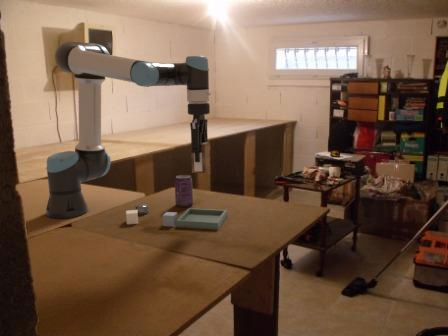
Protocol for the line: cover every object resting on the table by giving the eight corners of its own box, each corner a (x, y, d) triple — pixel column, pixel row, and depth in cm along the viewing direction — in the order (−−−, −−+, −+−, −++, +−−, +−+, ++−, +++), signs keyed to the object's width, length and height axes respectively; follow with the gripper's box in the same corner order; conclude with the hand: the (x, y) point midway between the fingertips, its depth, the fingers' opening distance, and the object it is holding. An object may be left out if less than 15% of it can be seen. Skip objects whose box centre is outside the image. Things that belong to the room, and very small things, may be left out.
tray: (176, 227, 151) (176, 220, 150) (189, 214, 165) (188, 208, 165) (218, 229, 148) (218, 223, 147) (227, 216, 162) (227, 210, 161)
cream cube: (126, 224, 155) (126, 213, 154) (126, 221, 159) (126, 210, 158) (138, 223, 156) (137, 212, 155) (138, 220, 159) (137, 209, 159)
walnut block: (192, 172, 151) (190, 144, 149) (196, 169, 156) (195, 142, 154) (205, 173, 150) (205, 144, 148) (209, 170, 154) (208, 142, 152)
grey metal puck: (133, 214, 166) (132, 207, 165) (138, 210, 171) (138, 203, 170) (145, 215, 165) (145, 207, 164) (150, 211, 170) (150, 204, 169)
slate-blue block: (163, 226, 152) (162, 215, 152) (167, 222, 156) (166, 211, 155) (174, 226, 152) (173, 215, 151) (177, 223, 155) (177, 212, 155)
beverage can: (184, 201, 182) (183, 173, 180) (196, 204, 178) (195, 176, 175) (172, 205, 177) (170, 176, 174) (184, 208, 172) (183, 179, 170)
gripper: (201, 104, 138) (204, 175, 143) (215, 101, 156) (217, 164, 160) (179, 104, 140) (182, 174, 145) (195, 101, 157) (197, 164, 162)
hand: (200, 169), depth 152 cm, fingers closed on walnut block, 5 cm apart
